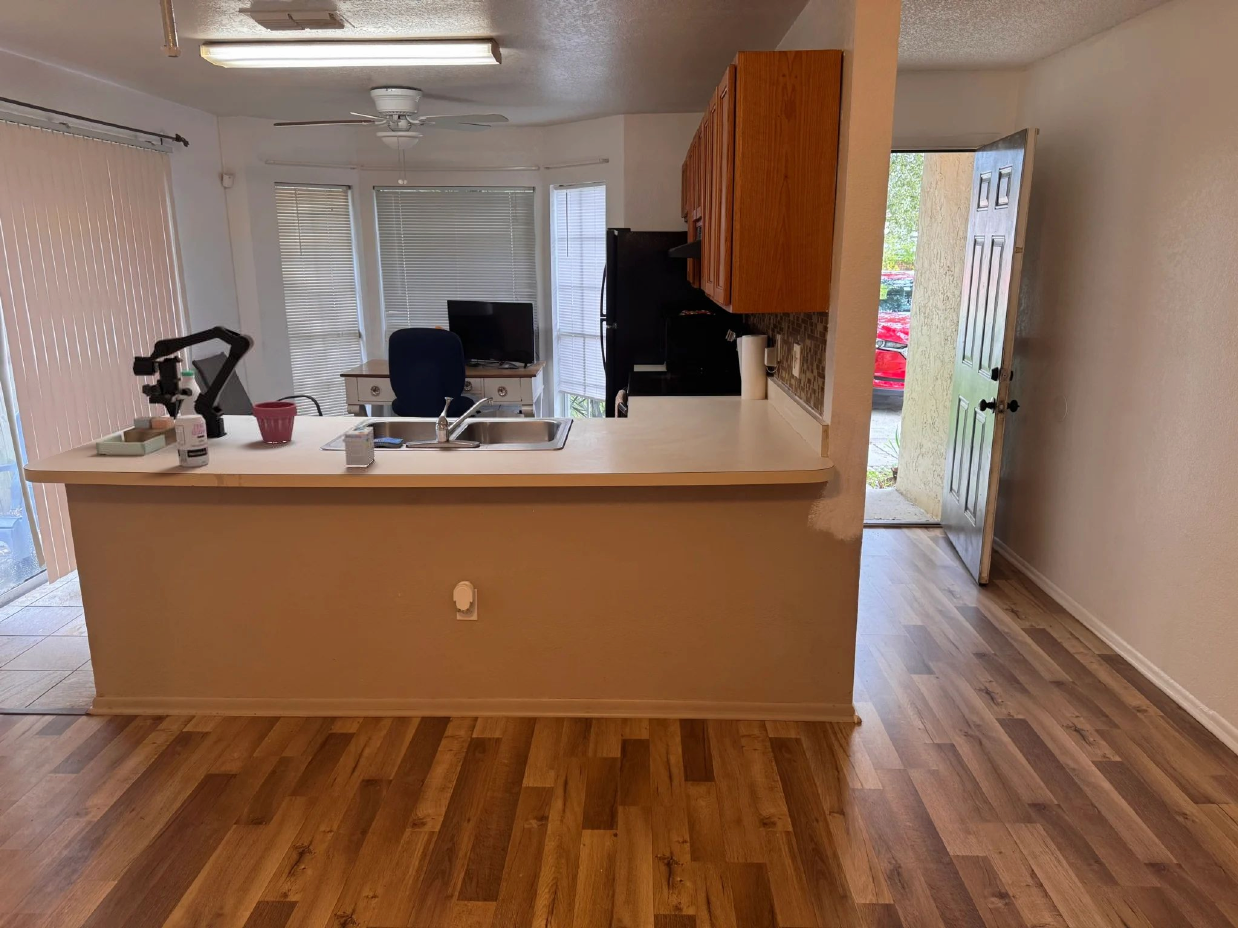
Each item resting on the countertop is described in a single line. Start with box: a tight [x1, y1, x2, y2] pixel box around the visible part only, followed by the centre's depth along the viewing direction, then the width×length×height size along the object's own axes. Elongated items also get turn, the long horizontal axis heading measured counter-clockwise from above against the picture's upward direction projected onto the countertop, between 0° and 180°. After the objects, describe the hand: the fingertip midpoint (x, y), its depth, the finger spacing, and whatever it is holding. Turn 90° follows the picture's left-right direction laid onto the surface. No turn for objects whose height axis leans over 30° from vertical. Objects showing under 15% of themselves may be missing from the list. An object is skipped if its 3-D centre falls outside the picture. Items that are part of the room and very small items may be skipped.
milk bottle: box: [179, 370, 202, 416], centre depth 318 cm, size 8×8×20 cm
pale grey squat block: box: [133, 416, 157, 428], centre depth 288 cm, size 5×5×3 cm
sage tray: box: [95, 434, 167, 457], centre depth 275 cm, size 15×13×4 cm
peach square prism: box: [151, 416, 175, 428], centre depth 288 cm, size 5×5×3 cm
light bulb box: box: [344, 426, 375, 466], centre depth 261 cm, size 11×7×11 cm, turn 4°
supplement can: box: [174, 414, 210, 468], centre depth 257 cm, size 8×8×15 cm
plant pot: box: [252, 400, 298, 444], centre depth 291 cm, size 14×14×13 cm
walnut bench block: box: [122, 426, 177, 447], centre depth 287 cm, size 13×12×5 cm
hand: (173, 420), depth 295 cm, fingers closed
